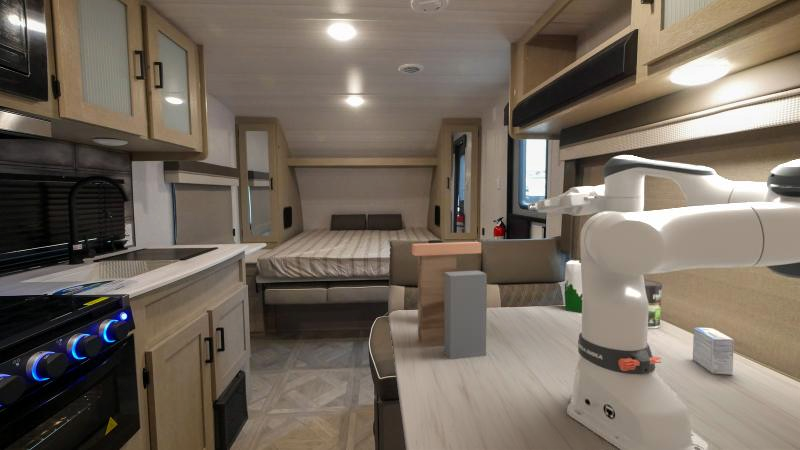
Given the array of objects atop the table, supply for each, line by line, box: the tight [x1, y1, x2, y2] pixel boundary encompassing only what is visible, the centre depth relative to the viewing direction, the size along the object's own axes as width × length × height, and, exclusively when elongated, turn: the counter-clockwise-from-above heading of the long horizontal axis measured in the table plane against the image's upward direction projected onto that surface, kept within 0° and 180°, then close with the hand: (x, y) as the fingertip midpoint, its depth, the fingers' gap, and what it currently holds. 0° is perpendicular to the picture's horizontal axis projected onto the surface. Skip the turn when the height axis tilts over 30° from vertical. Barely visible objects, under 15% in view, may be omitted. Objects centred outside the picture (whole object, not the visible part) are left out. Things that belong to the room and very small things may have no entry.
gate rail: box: [411, 241, 482, 257], centre depth 105 cm, size 3×20×3 cm, turn 102°
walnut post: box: [417, 254, 458, 348], centre depth 105 cm, size 5×10×26 cm, turn 102°
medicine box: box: [692, 327, 735, 376], centre depth 89 cm, size 8×4×9 cm, turn 168°
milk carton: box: [564, 256, 582, 314], centre depth 135 cm, size 9×9×20 cm
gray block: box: [443, 270, 488, 360], centre depth 97 cm, size 5×10×22 cm, turn 102°
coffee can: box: [644, 278, 663, 330], centre depth 120 cm, size 10×10×14 cm
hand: (535, 205), depth 110 cm, fingers open, 8 cm apart
